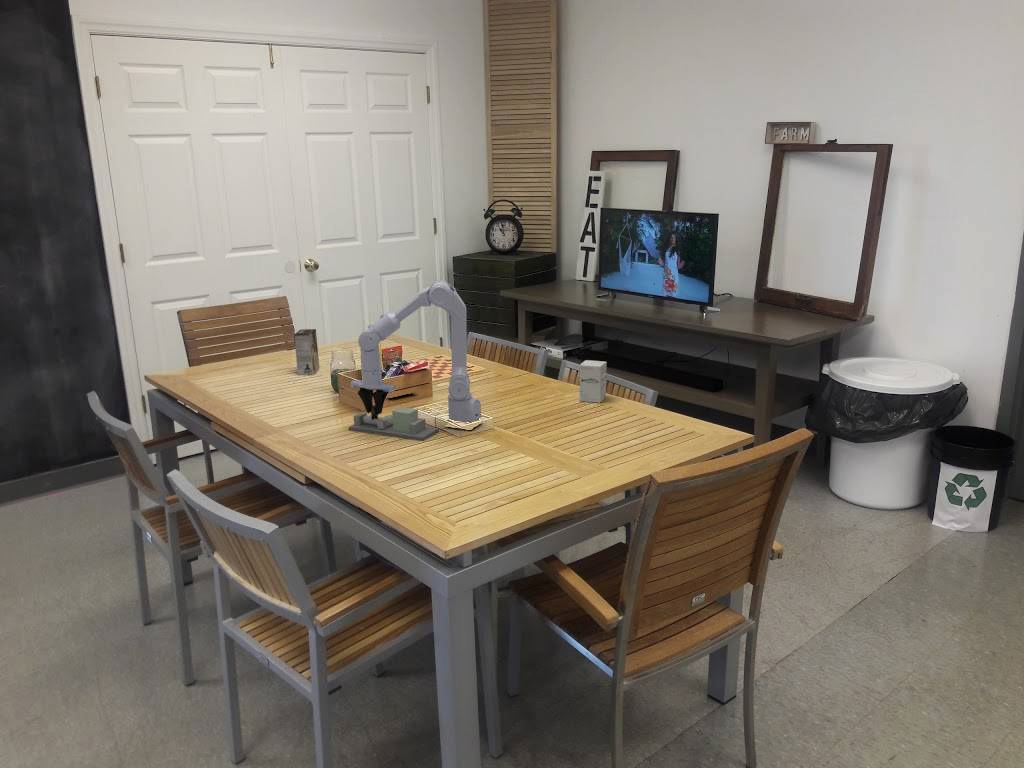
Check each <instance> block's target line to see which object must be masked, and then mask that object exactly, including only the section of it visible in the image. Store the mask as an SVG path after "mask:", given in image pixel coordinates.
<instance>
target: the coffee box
mask: <svg viewBox="0 0 1024 768" xmlns="http://www.w3.org/2000/svg"><path fill="white" fill-rule="evenodd" d="M293 337H294V338H293V339H294V348H295V358H296V368H297V369H296V370H297V375H298V376H307V375H306V374H314V375H315V374H316V373H317V372H318V371H319V370H320V369H319V368H320V360H319V359H320V358H319V347H318V337H317V329H316V328H314V329H313V328H311V329H309V328H308V329H306V328H305V329H299V330H297V332H296V333H294V334H293ZM318 369H319V370H318Z"/></svg>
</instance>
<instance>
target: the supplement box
mask: <svg viewBox="0 0 1024 768" xmlns="http://www.w3.org/2000/svg"><path fill="white" fill-rule="evenodd" d="M606 390H607V361H603V360H602V361H600V360H590V359H589V360H588V359H586V360H584V361H583V362H581V363H580V364H579V399H578V400H579V402H587V403H596V402H597V403H596V404H601V403H602V402H603V401H604V400H605V399H606V397H605V396H606V395H607V393H606V392H607V391H606ZM604 398H605V399H604ZM603 399H604V400H603ZM602 400H603V401H602ZM601 401H602V402H601ZM600 402H601V403H600Z"/></svg>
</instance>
